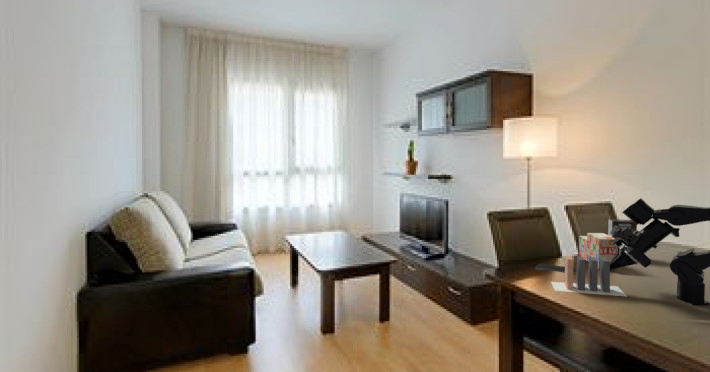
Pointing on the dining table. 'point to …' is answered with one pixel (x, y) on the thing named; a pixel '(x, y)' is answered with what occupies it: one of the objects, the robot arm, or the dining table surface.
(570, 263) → the terracotta domino
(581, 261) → the domino
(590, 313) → the dining table surface
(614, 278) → the dining table surface
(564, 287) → the white mat
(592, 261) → the domino
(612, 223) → the coffee box
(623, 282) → the dining table surface
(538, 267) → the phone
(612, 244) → the stack of blocks
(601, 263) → the domino
